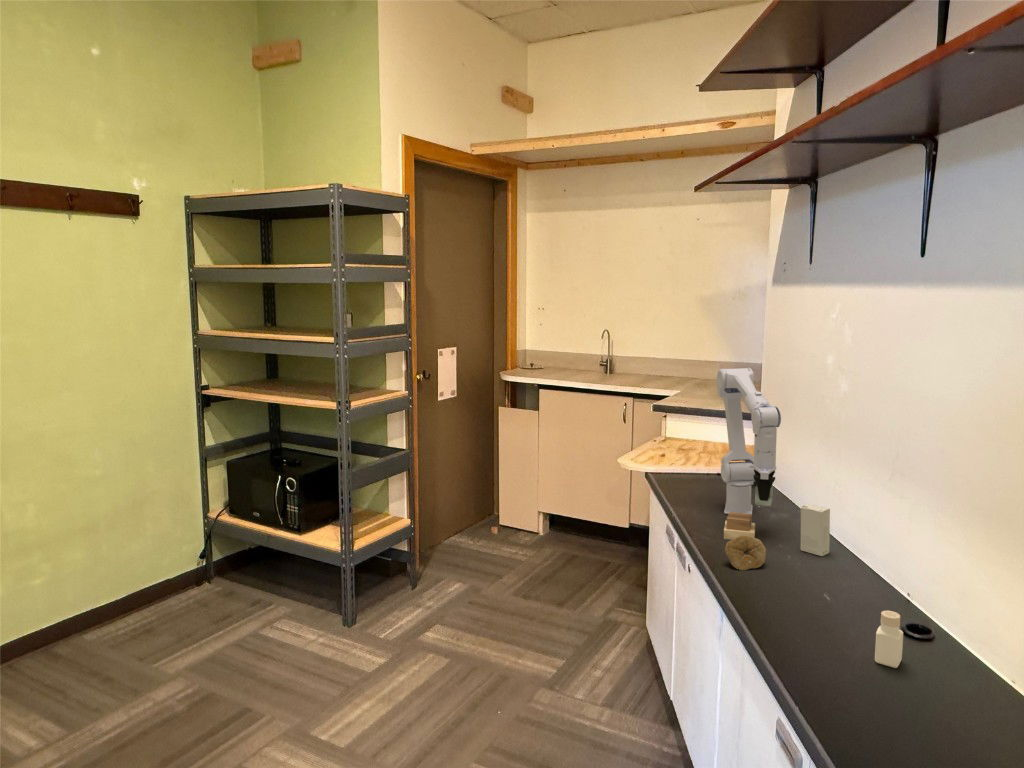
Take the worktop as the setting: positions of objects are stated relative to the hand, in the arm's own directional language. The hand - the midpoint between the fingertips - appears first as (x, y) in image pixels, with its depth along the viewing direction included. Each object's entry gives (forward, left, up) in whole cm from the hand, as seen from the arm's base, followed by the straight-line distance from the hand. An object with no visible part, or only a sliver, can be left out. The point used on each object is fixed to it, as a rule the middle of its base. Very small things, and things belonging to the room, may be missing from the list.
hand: (763, 497), depth 199 cm
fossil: (+24, -4, -11) cm, 27 cm away
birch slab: (+3, -6, -11) cm, 13 cm away
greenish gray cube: (0, 0, -2) cm, 2 cm away
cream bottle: (+63, +23, -11) cm, 68 cm away
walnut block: (+3, -6, -8) cm, 11 cm away
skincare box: (+10, +13, -11) cm, 20 cm away
